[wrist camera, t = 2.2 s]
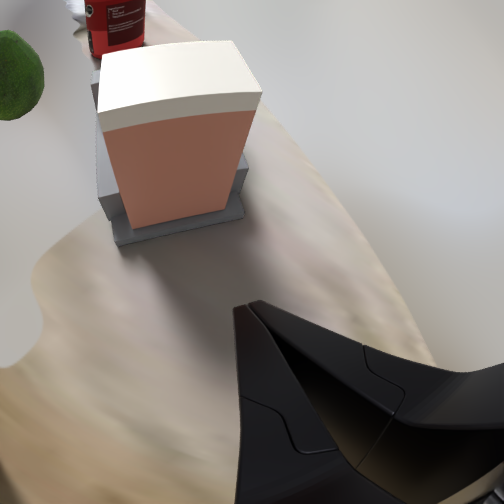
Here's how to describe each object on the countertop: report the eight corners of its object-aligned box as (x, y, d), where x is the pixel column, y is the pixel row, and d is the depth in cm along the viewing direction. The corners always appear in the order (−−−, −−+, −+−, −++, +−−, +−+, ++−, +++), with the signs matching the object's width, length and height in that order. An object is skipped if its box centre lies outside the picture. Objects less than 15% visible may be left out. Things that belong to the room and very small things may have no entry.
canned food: (105, 36, 29) (103, -24, 19) (152, 36, 30) (157, -28, 20) (79, 61, 26) (71, -6, 16) (131, 61, 27) (131, -13, 17)
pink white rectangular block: (224, 209, 21) (262, 91, 11) (132, 229, 19) (97, 112, 9) (208, 157, 23) (231, 40, 12) (124, 173, 20) (102, 54, 10)
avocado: (0, 108, 21) (-27, 39, 10) (51, 82, 24) (34, 6, 13) (-5, 148, 19) (-46, 71, 8) (52, 117, 22) (26, 27, 11)
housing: (245, 217, 23) (270, 165, 16) (113, 247, 20) (87, 200, 13) (207, 109, 26) (217, 54, 20) (103, 127, 23) (92, 71, 17)
